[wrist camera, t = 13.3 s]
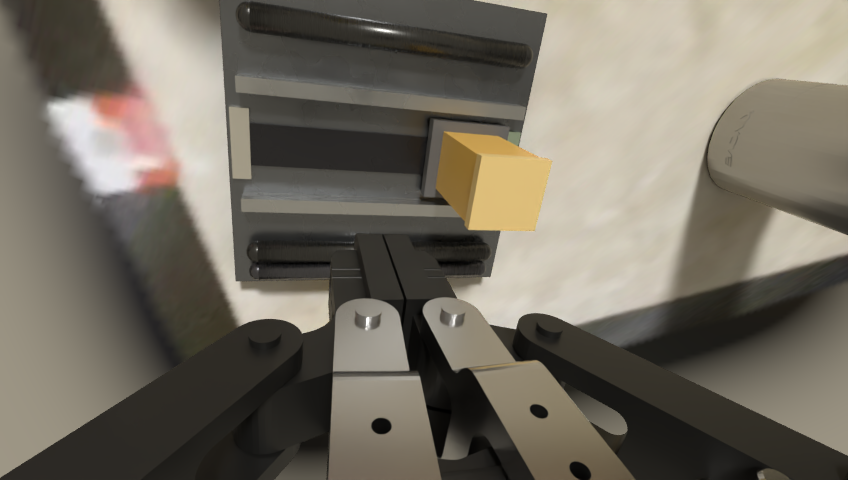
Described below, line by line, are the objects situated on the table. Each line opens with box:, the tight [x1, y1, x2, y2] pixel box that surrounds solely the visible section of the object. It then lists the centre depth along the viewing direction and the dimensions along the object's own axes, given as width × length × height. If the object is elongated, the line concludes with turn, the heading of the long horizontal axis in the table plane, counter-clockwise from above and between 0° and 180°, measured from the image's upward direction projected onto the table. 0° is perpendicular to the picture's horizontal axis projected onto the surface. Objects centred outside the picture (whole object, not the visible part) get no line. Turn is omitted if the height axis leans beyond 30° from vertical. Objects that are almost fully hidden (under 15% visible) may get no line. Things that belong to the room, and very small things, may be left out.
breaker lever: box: [421, 118, 552, 231], centre depth 25 cm, size 5×5×7 cm
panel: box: [219, 0, 547, 281], centre depth 27 cm, size 18×18×3 cm
